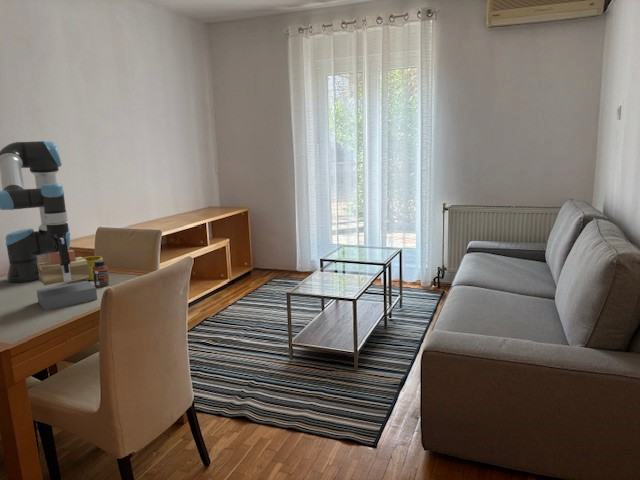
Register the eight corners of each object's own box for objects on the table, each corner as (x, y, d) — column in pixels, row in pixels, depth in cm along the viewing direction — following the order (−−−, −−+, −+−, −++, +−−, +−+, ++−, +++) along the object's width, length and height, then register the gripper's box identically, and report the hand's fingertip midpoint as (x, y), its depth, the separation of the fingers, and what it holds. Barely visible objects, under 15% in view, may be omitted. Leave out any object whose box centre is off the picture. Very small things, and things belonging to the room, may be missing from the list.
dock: (38, 301, 192) (36, 290, 191) (88, 291, 204) (87, 280, 203) (44, 310, 181) (42, 298, 180) (97, 299, 193) (95, 287, 192)
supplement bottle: (99, 288, 208) (96, 263, 206) (91, 286, 211) (88, 261, 209) (112, 284, 213) (109, 260, 211) (104, 283, 216) (101, 259, 214)
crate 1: (49, 262, 188) (47, 253, 187) (60, 261, 190) (59, 251, 190) (51, 264, 185) (49, 254, 184) (62, 262, 187) (61, 253, 187)
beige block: (39, 280, 189) (37, 263, 188) (83, 272, 199) (80, 256, 198) (44, 285, 182) (41, 267, 180) (89, 277, 191) (86, 260, 190)
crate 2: (62, 260, 191) (61, 251, 190) (73, 259, 193) (72, 249, 193) (64, 262, 188) (63, 252, 187) (75, 260, 190) (74, 251, 190)
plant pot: (95, 282, 219) (92, 261, 217) (75, 281, 221) (72, 260, 219) (109, 275, 229) (106, 256, 227) (90, 275, 231) (87, 255, 229)
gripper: (40, 221, 192) (48, 274, 197) (51, 227, 175) (60, 285, 179) (61, 219, 197) (68, 271, 201) (74, 225, 180) (81, 281, 184)
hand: (64, 277), depth 190 cm, fingers closed on beige block, 10 cm apart
